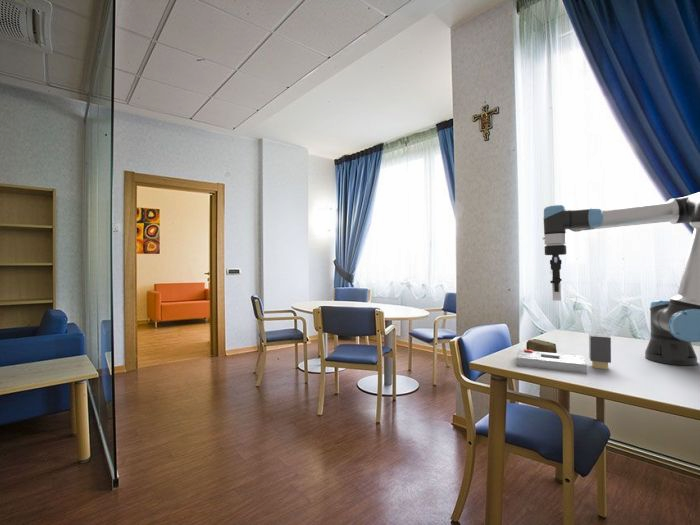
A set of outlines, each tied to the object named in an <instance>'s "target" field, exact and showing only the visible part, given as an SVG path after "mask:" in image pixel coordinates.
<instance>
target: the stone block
mask: <svg viewBox="0 0 700 525" xmlns="http://www.w3.org/2000/svg"><path fill="white" fill-rule="evenodd" d="M525 347H526V348H525V349H527V350H533V351H538V352H548V353H558V352H557V351H558V350H557V345H556V343H554V342H550V341H546V340H543V339H537V338H534V339H533V338H532V339H527V341H526V346H525Z"/></svg>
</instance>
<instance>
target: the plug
mask: <svg viewBox="0 0 700 525" xmlns="http://www.w3.org/2000/svg"><path fill="white" fill-rule="evenodd" d="M611 339H612V337H611V336H610V335H608V334H599V333H589V334H588V341H589V342H588V343H589V344H588V346H589V350H588V351H589V352H588V354H589V357H588V358H589V359H590V361H591V367H592V368H595V369H603V370H604V369H605V370H608V369H609V364H612V345H611V344H612V341H611Z"/></svg>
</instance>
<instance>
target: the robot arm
mask: <svg viewBox="0 0 700 525" xmlns="http://www.w3.org/2000/svg"><path fill="white" fill-rule="evenodd" d="M668 222H669V223H670V224H673V225H675V224H689V225H690V226H691V227H692V228H693V233H692V237H691V241H690V245H689V249H688V252H687V255H686V260H685V264H684V268H683V271H682V275H681V279H680V283H679V286H678V291H677V293H676V295H674V296H672V297H671V298H670V299H669V300H652V301H651V302H650V307H649V312H650V313H649V314H650V318H649V319H650V340H649V342H648V343H647V346H646V348H645V350H644V351H645V352H644V358H646V359H647V360H650V361H652V362H657V363H662V364H666V365H667V364H668V365H674V366H675V365H676V366H695V365H698V356H697V354H696V352H695V349H694V346H693V344H692V343H700V191H698V192H696V193H692V194H689V195H687V196H683V197H677V198H676V197H675V198H670V199H669V200H668V201H666V202H664V201H663V202H657V203H656V202H655V203H649V204H641V205H633V206H626V207H625V206H624V207H616V208H609V209H608V208H606V209H601V208H598V207H596V208H594V207H593V208H592V207H590V208H579V209H566V205H562V204H561V205H560V204H557V205H556V204H555V205H549V206H546V207H545V208H544V209H543V234H544V236H543V237H542V240H543V241H544V245H545V246H544V255H545V256H552V257H551V259H550V260H549V264H550V270H552V273H551V274H552V279H551V280H550V281H549V282H550V284H552V288H551V289H552V301H560V302H561V301H562V291H561V290H562V289H561V282H562V278H561V270H562V262H563V261H562V259H561V258H560V256H565V255H567V245H566V244H567V232H566V230H570V231H571V232H575V233H577V232H578V233H579V232H581V231H591V230H597V229H598V230H599V229H608V228H618V227H630V226H637V225H639V226H640V225H647V224H648V225H649V224H659V223H668Z"/></svg>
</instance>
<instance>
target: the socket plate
mask: <svg viewBox="0 0 700 525" xmlns="http://www.w3.org/2000/svg"><path fill="white" fill-rule="evenodd" d="M518 365H519V367H528V368H537V369H545V370H553V371H554V370H555V371H561V372H563V371H564V372H570V373H571V372H573V373H581V374H588V372H587V371H588V370H587V369H588V368H587V367H588V365H587V362H586V359H585V357H584V355H577V354H567V353H566V354H565V353H558V352H557V353H548V352H538V351H533V350H527V348H525V349H518V352H517V355H516V366H518Z"/></svg>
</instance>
